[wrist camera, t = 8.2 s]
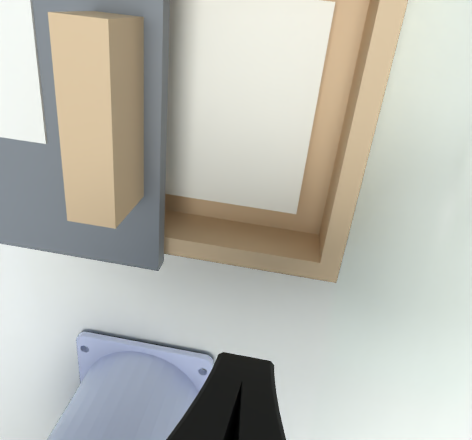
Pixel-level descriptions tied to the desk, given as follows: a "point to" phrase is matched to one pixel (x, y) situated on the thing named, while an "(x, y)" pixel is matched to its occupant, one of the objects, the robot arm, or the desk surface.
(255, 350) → the desk surface
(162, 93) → the lid
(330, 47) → the kraft box
